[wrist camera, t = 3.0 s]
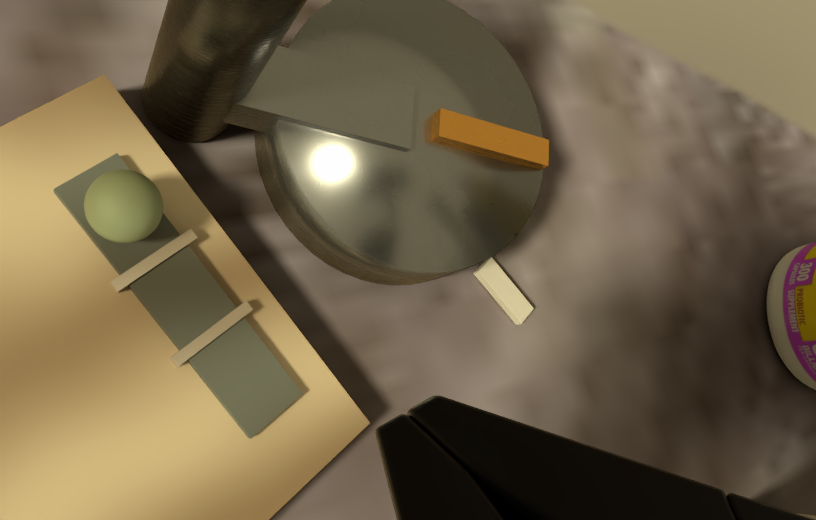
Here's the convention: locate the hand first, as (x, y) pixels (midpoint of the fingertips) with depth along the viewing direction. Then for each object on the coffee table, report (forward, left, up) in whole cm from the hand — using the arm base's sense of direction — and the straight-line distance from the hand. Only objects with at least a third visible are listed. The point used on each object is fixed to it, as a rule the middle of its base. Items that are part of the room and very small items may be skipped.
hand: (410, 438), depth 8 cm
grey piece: (+4, -9, -13) cm, 16 cm away
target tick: (-3, -10, -13) cm, 17 cm away
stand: (+3, +1, -13) cm, 13 cm away
